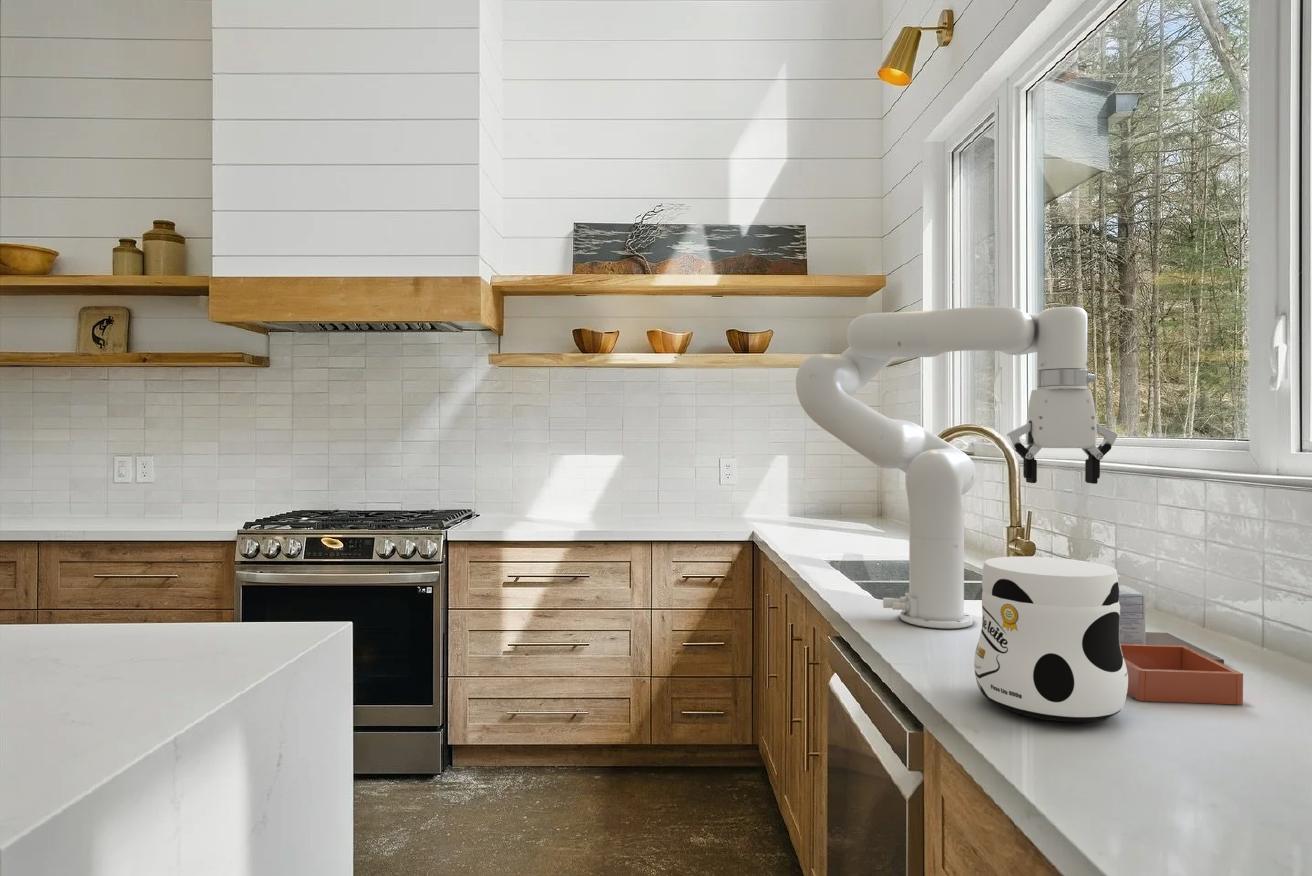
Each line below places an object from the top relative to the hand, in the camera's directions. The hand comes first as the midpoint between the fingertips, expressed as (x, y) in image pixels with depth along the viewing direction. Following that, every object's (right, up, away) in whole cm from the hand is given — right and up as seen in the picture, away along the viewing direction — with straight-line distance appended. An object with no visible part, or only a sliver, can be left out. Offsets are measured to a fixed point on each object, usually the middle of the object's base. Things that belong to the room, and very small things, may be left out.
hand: (1061, 482), depth 134 cm
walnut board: (+6, -26, -7) cm, 28 cm away
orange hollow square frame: (+1, -27, -25) cm, 37 cm away
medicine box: (+6, -26, -7) cm, 27 cm away
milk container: (-19, -27, -34) cm, 47 cm away
